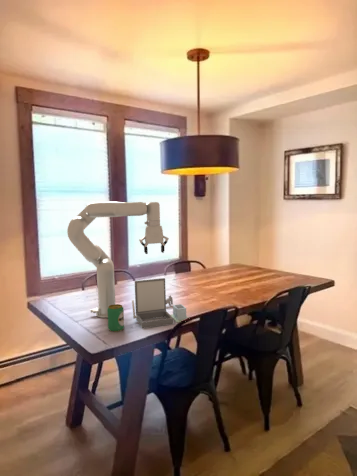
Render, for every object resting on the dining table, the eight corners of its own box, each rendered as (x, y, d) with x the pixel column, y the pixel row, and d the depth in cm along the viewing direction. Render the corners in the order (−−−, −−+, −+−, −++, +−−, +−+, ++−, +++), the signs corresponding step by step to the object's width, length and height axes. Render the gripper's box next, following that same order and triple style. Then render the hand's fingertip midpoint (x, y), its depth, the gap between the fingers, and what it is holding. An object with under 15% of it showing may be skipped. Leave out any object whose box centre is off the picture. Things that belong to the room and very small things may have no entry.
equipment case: (138, 328, 183) (136, 287, 180) (132, 319, 197) (130, 281, 195) (173, 323, 189) (172, 283, 186) (165, 315, 203) (164, 278, 201)
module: (177, 320, 193) (177, 308, 193) (173, 315, 201) (172, 304, 200) (186, 318, 195) (186, 307, 194) (181, 314, 203) (181, 303, 202)
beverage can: (119, 332, 178) (118, 309, 177) (105, 331, 181) (104, 307, 180) (127, 327, 185) (126, 304, 184) (113, 325, 188) (112, 303, 187)
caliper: (171, 304, 225) (171, 294, 224) (172, 304, 224) (172, 295, 224) (147, 312, 210) (147, 302, 209) (149, 313, 209) (148, 302, 208)
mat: (176, 322, 191) (176, 321, 191) (169, 315, 203) (169, 314, 203) (190, 320, 193) (190, 319, 193) (182, 313, 205) (182, 313, 205)
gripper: (140, 224, 201) (141, 255, 203) (169, 223, 206) (170, 252, 208) (137, 223, 208) (138, 253, 210) (166, 222, 213) (166, 251, 215)
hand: (154, 253), depth 209 cm, fingers open, 9 cm apart
